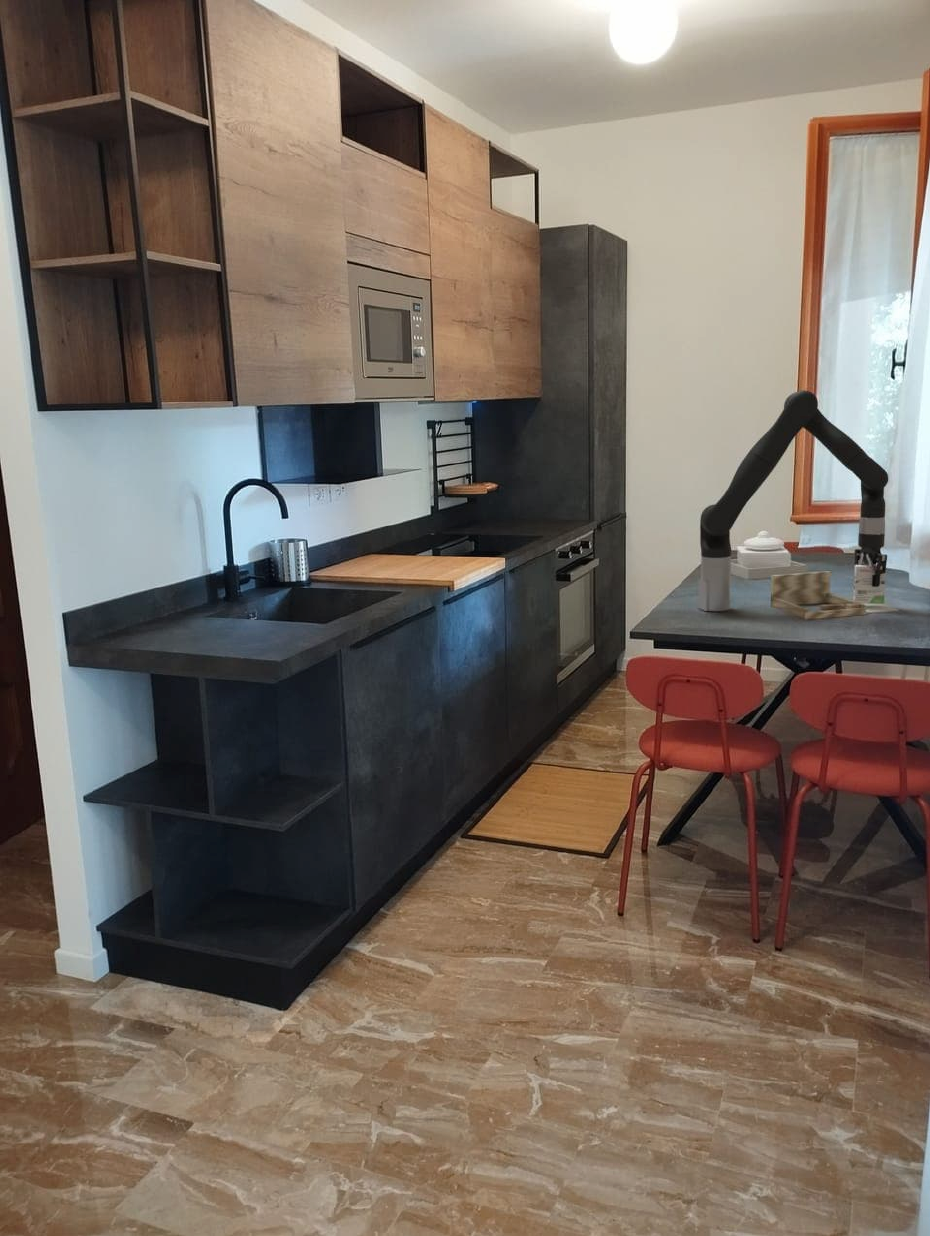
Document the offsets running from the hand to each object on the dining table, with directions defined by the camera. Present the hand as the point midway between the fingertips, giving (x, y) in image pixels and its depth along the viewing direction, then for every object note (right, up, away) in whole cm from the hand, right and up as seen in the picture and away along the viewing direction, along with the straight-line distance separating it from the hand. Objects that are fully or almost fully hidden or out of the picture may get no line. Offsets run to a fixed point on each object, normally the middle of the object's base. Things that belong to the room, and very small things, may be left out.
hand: (869, 584), depth 313 cm
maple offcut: (-7, -9, -5) cm, 13 cm away
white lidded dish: (-13, +7, +70) cm, 71 cm away
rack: (-16, -8, +2) cm, 18 cm away
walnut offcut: (-14, -8, -7) cm, 17 cm away
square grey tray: (-13, +7, +70) cm, 71 cm away
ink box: (0, -6, +1) cm, 6 cm away
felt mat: (0, -7, +2) cm, 7 cm away
